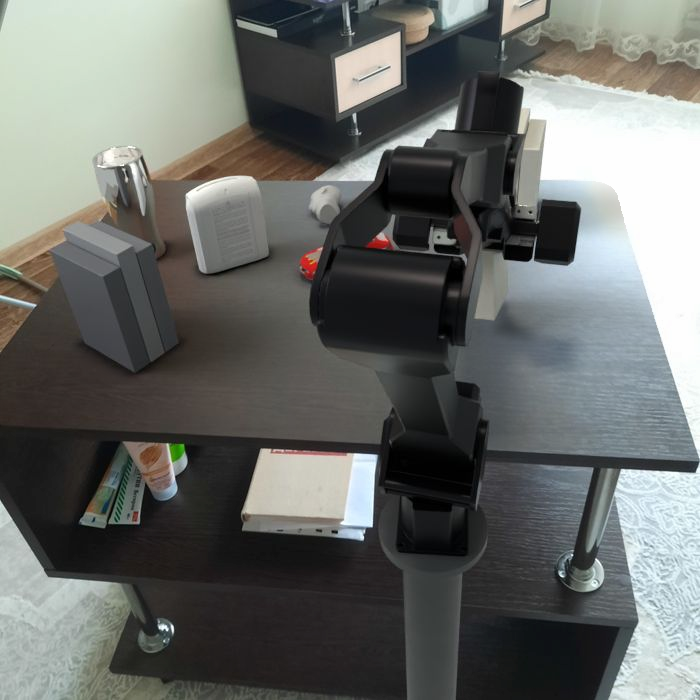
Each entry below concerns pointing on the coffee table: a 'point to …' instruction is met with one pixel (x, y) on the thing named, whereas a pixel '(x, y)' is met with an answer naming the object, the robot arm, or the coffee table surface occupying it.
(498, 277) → the white book
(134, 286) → the grey books
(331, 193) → the pale two-lobed sculpture
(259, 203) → the photo printer
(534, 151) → the white books
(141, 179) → the silver metal cup
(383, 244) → the race car
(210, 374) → the coffee table surface
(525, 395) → the coffee table surface
